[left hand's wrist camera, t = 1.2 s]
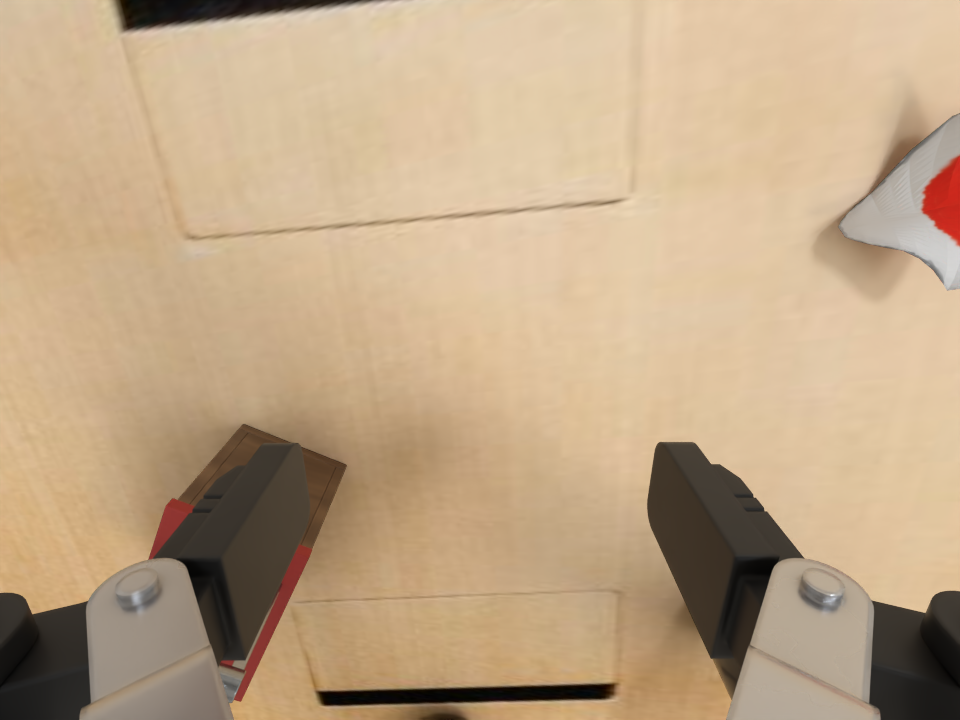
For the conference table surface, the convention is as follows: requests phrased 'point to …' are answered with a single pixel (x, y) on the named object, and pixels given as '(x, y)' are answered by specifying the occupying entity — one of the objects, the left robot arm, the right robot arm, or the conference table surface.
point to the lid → (241, 672)
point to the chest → (240, 450)
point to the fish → (918, 206)
